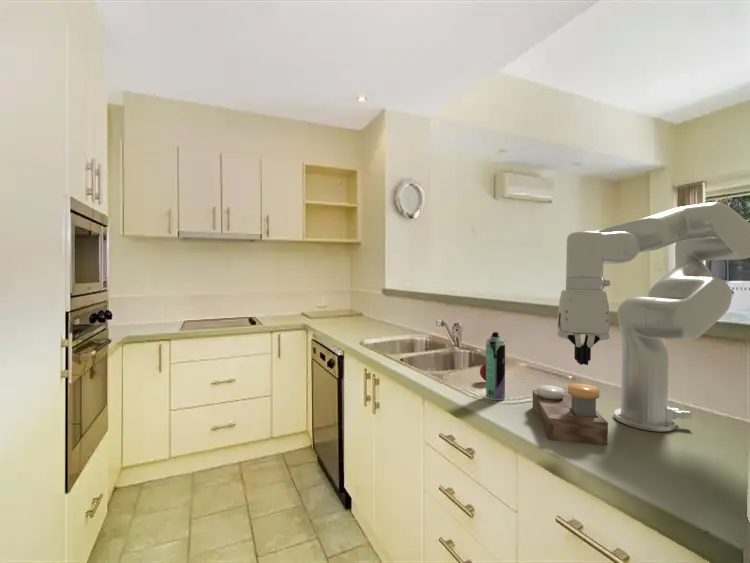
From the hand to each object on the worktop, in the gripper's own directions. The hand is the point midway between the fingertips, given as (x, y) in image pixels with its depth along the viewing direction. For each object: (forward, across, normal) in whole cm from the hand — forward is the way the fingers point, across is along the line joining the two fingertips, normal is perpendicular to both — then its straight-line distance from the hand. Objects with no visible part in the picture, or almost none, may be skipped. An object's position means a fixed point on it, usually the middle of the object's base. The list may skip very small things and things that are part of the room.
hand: (582, 363), depth 86 cm
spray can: (+17, +17, -21) cm, 32 cm away
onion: (+17, +18, -36) cm, 44 cm away
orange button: (+13, -1, 0) cm, 13 cm away
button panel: (+17, +2, -5) cm, 18 cm away
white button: (+16, +4, -10) cm, 20 cm away
